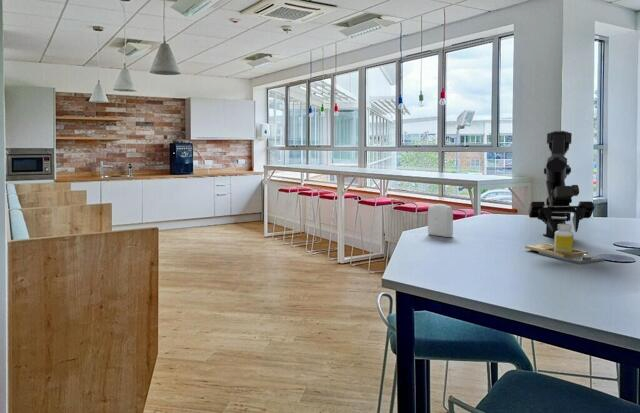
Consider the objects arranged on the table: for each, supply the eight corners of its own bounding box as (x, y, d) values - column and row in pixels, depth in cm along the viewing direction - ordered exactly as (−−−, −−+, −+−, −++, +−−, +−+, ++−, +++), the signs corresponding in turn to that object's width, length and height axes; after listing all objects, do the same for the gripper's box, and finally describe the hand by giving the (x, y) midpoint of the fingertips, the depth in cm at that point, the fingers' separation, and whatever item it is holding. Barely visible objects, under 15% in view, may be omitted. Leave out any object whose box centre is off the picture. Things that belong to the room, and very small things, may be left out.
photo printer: (426, 234, 208) (426, 203, 207) (433, 233, 211) (433, 202, 209) (447, 238, 200) (447, 205, 199) (454, 236, 203) (454, 204, 201)
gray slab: (604, 260, 159) (604, 254, 159) (579, 264, 155) (579, 257, 155) (548, 247, 179) (548, 241, 179) (525, 250, 175) (525, 244, 175)
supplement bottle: (575, 257, 165) (577, 225, 163) (558, 257, 165) (559, 226, 163) (567, 253, 170) (569, 223, 169) (550, 253, 170) (551, 223, 169)
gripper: (531, 176, 170) (537, 215, 160) (594, 175, 166) (604, 215, 157) (525, 198, 178) (531, 236, 169) (585, 198, 175) (594, 237, 166)
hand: (565, 231), depth 165 cm, fingers open, 6 cm apart
